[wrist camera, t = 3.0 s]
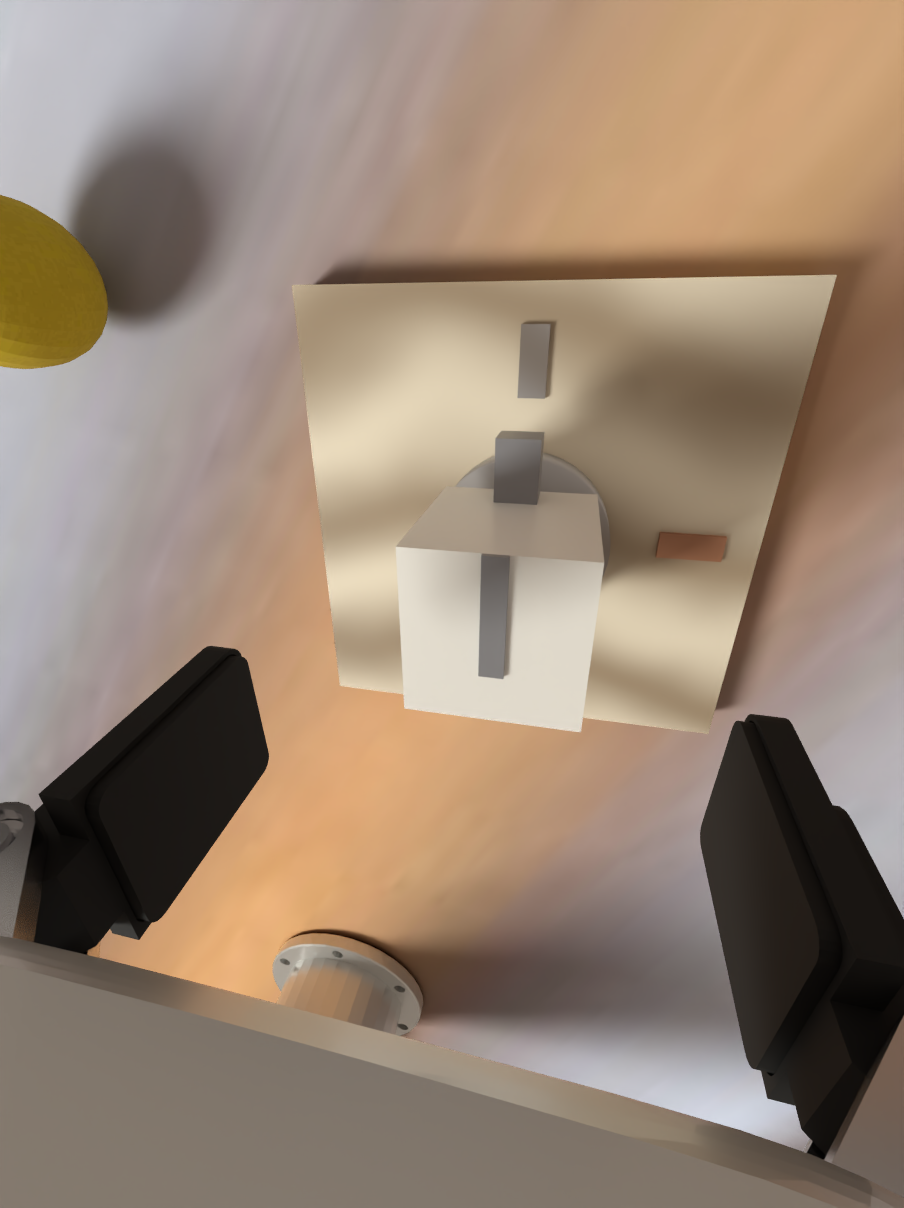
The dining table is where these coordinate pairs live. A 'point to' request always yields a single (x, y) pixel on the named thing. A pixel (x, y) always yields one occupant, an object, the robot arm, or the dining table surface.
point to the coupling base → (565, 450)
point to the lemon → (45, 291)
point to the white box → (502, 596)
